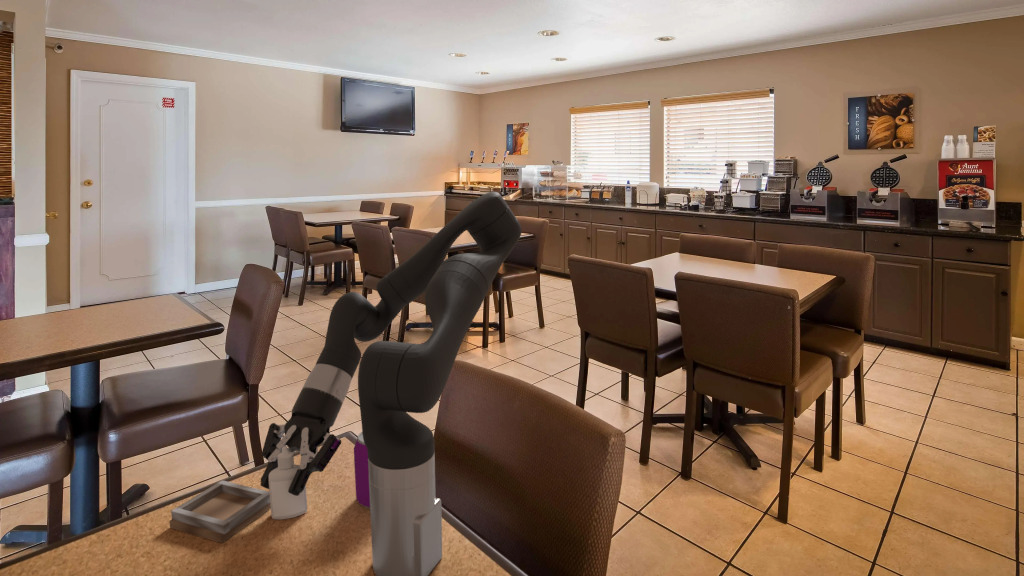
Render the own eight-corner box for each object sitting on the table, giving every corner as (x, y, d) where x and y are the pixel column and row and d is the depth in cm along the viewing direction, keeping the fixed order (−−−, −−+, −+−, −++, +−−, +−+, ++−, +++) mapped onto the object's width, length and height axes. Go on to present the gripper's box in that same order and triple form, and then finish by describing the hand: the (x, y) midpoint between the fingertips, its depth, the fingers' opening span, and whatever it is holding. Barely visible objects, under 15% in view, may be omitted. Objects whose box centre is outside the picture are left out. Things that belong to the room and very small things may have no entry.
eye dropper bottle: (299, 522, 92) (294, 454, 90) (266, 519, 93) (261, 452, 90) (311, 506, 96) (307, 441, 94) (280, 504, 97) (275, 439, 95)
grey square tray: (274, 505, 97) (273, 490, 96) (222, 543, 87) (220, 527, 86) (225, 492, 100) (224, 478, 100) (170, 527, 90) (168, 512, 90)
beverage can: (386, 482, 104) (384, 421, 102) (409, 499, 99) (407, 435, 97) (348, 498, 99) (344, 434, 97) (370, 517, 94) (367, 450, 91)
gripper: (366, 409, 101) (326, 506, 92) (301, 398, 106) (257, 489, 97) (346, 391, 95) (302, 493, 86) (279, 380, 100) (230, 475, 91)
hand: (279, 490), depth 92 cm, fingers closed on eye dropper bottle, 5 cm apart
